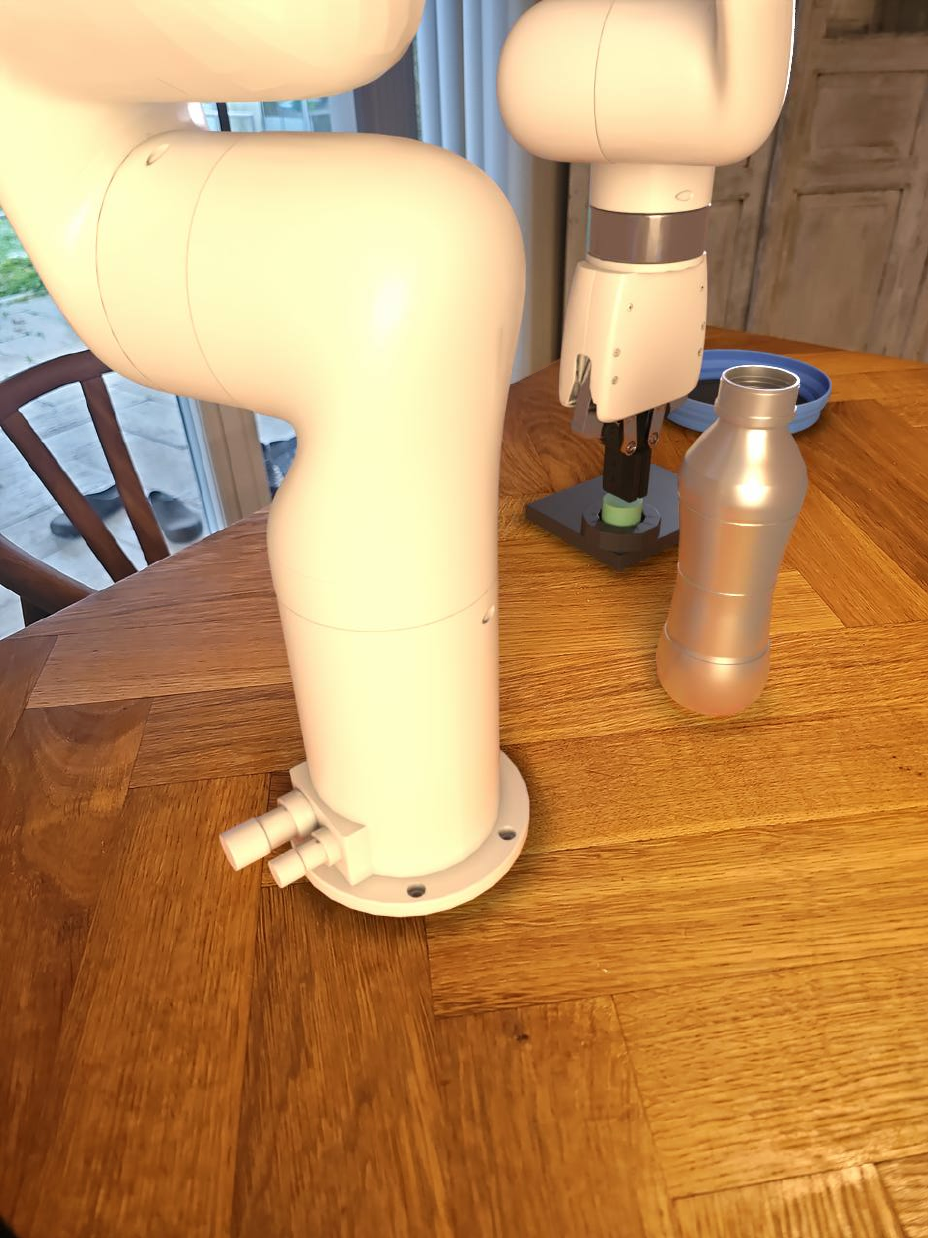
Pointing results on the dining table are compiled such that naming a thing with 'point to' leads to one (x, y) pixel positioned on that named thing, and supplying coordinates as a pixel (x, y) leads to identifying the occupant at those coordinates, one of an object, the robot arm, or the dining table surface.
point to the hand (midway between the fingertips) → (624, 493)
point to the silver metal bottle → (732, 543)
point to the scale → (617, 547)
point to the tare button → (621, 511)
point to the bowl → (715, 362)
